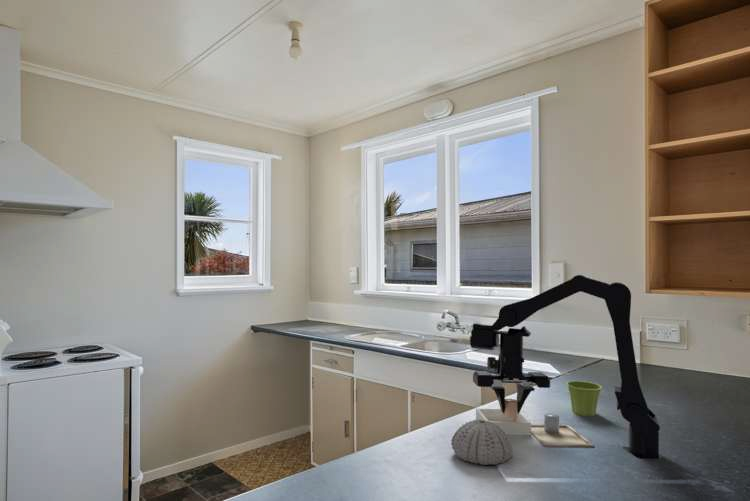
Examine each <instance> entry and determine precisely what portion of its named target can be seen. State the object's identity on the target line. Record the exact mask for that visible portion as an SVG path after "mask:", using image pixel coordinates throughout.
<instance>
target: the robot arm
mask: <svg viewBox="0 0 750 501" xmlns="http://www.w3.org/2000/svg"><path fill="white" fill-rule="evenodd" d="M577 293H583V294H587V295H590V296H593V297H596V298H599V299H602V300H604V302H605V305H606V307H607V311H608V313H609V316H610V318H611V321H612V326H613V332H614V340H615V346H616V354H617V360H618V367H619V374H620V386H614V395H615V398H616V410H617V411H620V413H621V416H622V419H624V420H625V421H627V422H628V428H629V429H628V446H622V449H623V450H625V451H627V452H628V453H630V454H631V455H633V456H634V457H635V458H636V459H641V460H643V459H645V460H646V459H648V460H651V459H653V460H660V459H661V460H665V459H666V457H664V456H663V455H661V454H660V452H659V451H660V449H659V447H660V429H661V427H660V423H659V420H658V417H657V415H656V414H655V413H654V412H653V411H652V410H651V409H650V408H649V406H648V403H647V400H646V397H645V395H644V392H643V389H642V385H641V384H640V380H639V375H638V368H637V362H636V355H635V354H636V353H635V349H634V341H633V336H632V335H633V334H632V327H631V309H632V308H631V305H632V293H631V290H630V288H629V287H628V286H627V285H626V284H624V283H622V282H619V281H618V282H617V281H616V282H615V281H614V282H611V283H607V282H604V281H601V280H596V279H594V278H593V279H592V278H589V277H586V276H585V275H583V274H577V275H575V276H572V278H569V279H568V280H567V281H563V282H561V283H560V284H557V285H556V286H553V287H552V288H549V289H548V290H545V291H543V292H541V293H539V294H537V295H534V296H533V297H530V298H526V299H523V300H519V301H516V302H512V303H508V304H506V305H503V306H502V307H501V308H500V310H499V312H498V317H497V319H496V320H495V322H493V323H492V324H483V323H479V322H475V323H473V324H472V328H471V329H472V330H471V333H470V334H471V335H470V336H469V339H470V340H469V343H470V347H471V349H476V350H485V351H494V350H495V348H498V347H499V353H498V359H496V357H495V356H488V357H487V359H486V360H487V362H486V365H487V369H488V370H493V371H494V372H493V374H491V372H489V371H486V370H484V371H483V370H481V371H479V370H475V371H474V372H473V374H472V382H473V383H474V384H475V385H476V386H477V387H479V388H490V389H492V390H493V391H494V393H495V395H496V398H497V400H498V405H499V409H501V411H502V413H504V412H505V399H506V389H505V387H504V386H503V384H506V383H507V384H508V383H509V384H516V390H517V392H516V400H517V401H518V413H519V412H520V413H521V410H522V408H523V406H524V404H525V402H526V400H527V398H528V397H529V395H530V394H531V393H532V392H534V391H535V387H533V386H534V384H535V386H536V387H537V388H540V389H541V388H542V389H546V388H547V389H548V388H549V389H550V388H551V379H550V377H549V376H548V375H547V374H545V373H543V372H542V371H537V372H536V371H528V373H527V375H525V374H523V368H524V367H523V365H524V362H525V357H523V356H524V354H523V353H524V349H523V348H524V347H523V346H524V337H526V338H528V337H530V336H531V335H532V333H531V331H529V329H527V328H526V326H525V325H524V326H522V327H521V328H513V327H516V326H518V325H520V324H521V323H522V322H525V321H526V320H527V319H528V318H530V317H531V316H533V315H534V314H536V313H537V312H538V311H541V310H542V309H545V308H548V307H549V306H551V305H554V304H556V303H558V302H560V301H561V300H565V299H567V298H569V297H570V296H573V295H575V294H577ZM506 327H507V328H508V329H507V330H502V329H504V328H506Z"/></svg>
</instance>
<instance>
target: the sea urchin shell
mask: <svg viewBox="0 0 750 501" xmlns="http://www.w3.org/2000/svg"><path fill="white" fill-rule="evenodd" d="M450 441H451V443H450V445H451V449H453V451H454V454H455V455H456V456H457V458H460V459H462V460H463V461H465V462H470V463H472V464H475V465H476V464H480V465H482V466H484V465H485V466H487V465H489V466H490V465H491V466H492V465H498V464H503V463H505V462H508V460H510V459H511V457H512V454H513V446H512V444H511V440H510V439H509V438H508V435H505V432H503V431H502V429H500V428H499V426H497V425H496V424H494V423H492V422H489V421H485V420H480V419H477V420H476V419H473V420H471V421H470V420H469V421H465V423H464V424H462V425H461V426H459V428H457V430H456V431H455V432H454V433H453V436H452V438H451V440H450Z"/></svg>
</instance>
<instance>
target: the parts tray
mask: <svg viewBox="0 0 750 501" xmlns="http://www.w3.org/2000/svg"><path fill="white" fill-rule="evenodd" d="M531 436H533V437H534V439H536V440H537V441H538V443H539V444H541V445H542V446H543V447H546V448H548V447H550V448H551V447H557V448H559V447H561V448H563V447H565V448H569V447H570V448H595V445H594V444H593V442H591V441H590V440H588V439H587V438H586V437H584V436H583V435H582V434H581V433H579V432H578V431H577V430H575V429H574V428H573V427H571V425H569V424H559V433H557V434H552V433H548V432H545V431H544V423H543V424H536V423H535V424H534V423H531Z"/></svg>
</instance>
